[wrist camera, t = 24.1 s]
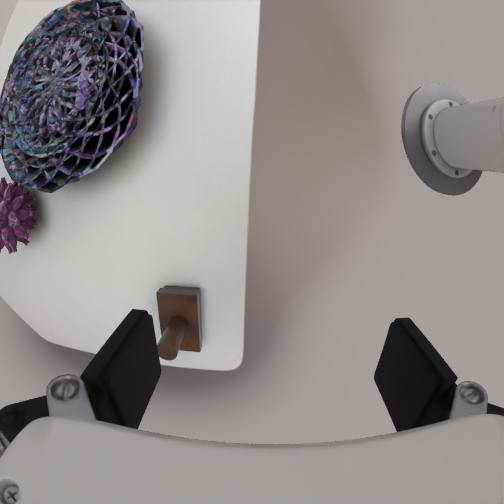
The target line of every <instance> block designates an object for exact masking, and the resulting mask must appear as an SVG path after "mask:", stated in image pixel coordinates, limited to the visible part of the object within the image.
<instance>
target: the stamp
mask: <svg viewBox="0 0 504 504" xmlns="http://www.w3.org/2000/svg"><path fill="white" fill-rule="evenodd" d="M157 302H158V311H159V319H160V327H161V335H162V337H161V339H160V340H159V342H158V344H157V349H158V355H159V356H160V357H161V358H162V359H165V360H173V359H175V358H176V356H177V354H178V351H179V350H183V351H194V352H200V351H201V347H202V334H201V314H200V290H199V288H190V287H174V286H165V287H164V288H160V289H159V290H158V292H157Z"/></svg>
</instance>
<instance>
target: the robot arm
mask: <svg viewBox="0 0 504 504" xmlns="http://www.w3.org/2000/svg"><path fill="white" fill-rule="evenodd" d="M421 131H422V140H423V144H424V148H425V151H426V153H427V155H428V157H429V159H430V161H431V162H432V164H433V165H434V166H435V167H436V168H437V169H438V170H439V171H440V172H441V173H442V174H444V175H446V176H449V177H453V178H461V177H464V176H467V175H468V174H469V173H470V172H471V171H472V170H483V171H493V172H500V173H504V97H502V98H496V99H490V100H485V101H480V102H474V103H469V104H464V105H459V104H458V103H457V102H454V101H452V100H448V99H441V100H437V101H435V102H433V103H431V104H430V105H429V106H428V107H427V109H426V111H425V113H424V115H423V119H422V126H421ZM160 375H161V366H160V360H159V355H158V349H157V343H156V337H155V331H154V324H153V318H152V315H149V314H148V312H147V311H146V310H137V309H132V310H131V311H130V313H129V314H128V315H127V316H126V317H125V319H124V320H123V321H122V322H121V324H120V325H119V326H118V327H117V329H116V330H115V331H114V332H113V334H112V335H111V336H110V337H109V339H108V340H107V341H106V343H105V344H104V345H103V346H102V348H101V349H100V350H99V352H98V353H97V354H96V355H95V357H94V358H93V359H92V361H91V362H90V363H89V365H88V366H87V367H86V369H85V370H84V371H83V373H82V375H81V376H80V378H79V377H78V376H75V375H70V374H67V375H61V376H58V377H56V378H54V379H53V380H52V381H51V382H50V383H49V384H48V386H47V388H46V396H42V397H38V398H34V399H30V400H26V401H23V402H19V403H14V404H10V405H8V406H5V407H4V408H2V409H1V410H0V504H504V408H501V407H498V406H495V405H492V404H489V403H487V402H488V397H487V393H486V391H485V389H484V388H483V387H482V386H480V385H479V384H477V383H475V382H470V381H465V382H462V383H460V384H459V385H458V386H457V385H456V383H455V382H456V380H457V376H456V375H455V373H454V372H453V371H452V370H451V368H450V367H449V366H448V364H447V363H446V362H445V361H444V359H443V358H442V357H441V355H440V354H439V353H438V352H437V350H436V349H435V348H434V347H433V346H432V344H431V343H430V342H429V341H428V340H427V338H426V337H425V336H424V335H423V333H422V332H421V331H420V330H419V328H418V327H417V326H416V325H415V324H414V323H413V322H412V320H411V319H410V318H397V319H395V320H394V322H392V323H391V325H390V327H389V331H388V334H387V337H386V341H385V344H384V347H383V350H382V353H381V356H380V359H379V362H378V365H377V368H376V371H375V375H374V380H375V383H376V385H377V387H378V389H379V392H380V394H381V396H382V398H383V401H384V403H385V405H386V407H387V409H388V412H389V414H390V417H391V419H392V421H393V424H394V426H395V428H396V431H397V432H396V433H390V434H385V435H379V436H374V437H367V438H360V439H353V440H344V441H335V442H323V443H308V444H241V443H227V442H214V441H205V440H197V439H189V438H182V437H176V436H170V435H164V434H158V433H153V432H148V431H142V430H138V427H139V424H140V422H141V420H142V417H143V415H144V413H145V410H146V408H147V405H148V403H149V401H150V398H151V396H152V394H153V391H154V389H155V387H156V384H157V382H158V380H159V378H160Z"/></svg>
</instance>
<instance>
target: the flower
mask: <svg viewBox="0 0 504 504" xmlns="http://www.w3.org/2000/svg"><path fill="white" fill-rule="evenodd" d="M23 189H24V185H22V184H20V185H19V186H18V182H16V181H14V183H13V184H12V183H9V184H7V182H6V180H5V177H4V178H1V183H0V251H1V249H2V248H3V247H4V245H5V247H6V248H7V249H8V251H9V254H11V253H12V252H13V251H14V253H15V252H16V251H17V249H16V246H17V240H18V241H19V242H23V243H24V244H25V245H27V244H28V243H29V241H28V240H27V239H28V237H29V235H28V234H27V230H28V229H31V230H32V229H33V226H32V225H37V224H38V222H39V221H38V220H36V219H34V218H33V217H32V216H33V215H34V211H33V210H34V209H36V207H35V205H32V204H33V203H34V202H35V201H36V200H35V199H36V197H34V198H31V199H27V197H28V195H29V193H30V190H29V191H28V192H26V193H23Z"/></svg>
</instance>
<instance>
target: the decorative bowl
mask: <svg viewBox="0 0 504 504" xmlns="http://www.w3.org/2000/svg"><path fill="white" fill-rule="evenodd" d="M143 47H144V33H143V26H142V25H141V24H140V23H139V22H138V21H137V20H136V17H135V14H134V11H132V10H130V8H129V7H128V6H127V5H126V4H125V3H124V2H123V1H122V0H75V1H72V2H71V3H69V4H68V5H66V6H64V7H60V8H57V9H55V10H54V11H53V12H51V13H50V14H48V15H47V16H46V17H44V18H43V19H42V20H41V21H40V22H39V23H38V25H37V26H36V27H35V28H34V29H33V31H32V32H31V33H29V34H28V35H27V37H26V38H25V40H24V41H23V42H22V44H21V45H20V47H19V48H18V49H17V51H16V54H15V56H14V59H13V61H12V63H11V65H10V67H9V70H8V74H7V77H6V80H5V83H4V86H3V89H2V93H1V96H0V153H1V155H2V159H3V162H4V165H5V168H6V170H7V172H8V173H9V175H10V177H11V179H12V180H13V181H16V182H18V183H20V184H22V185H24V186H25V187H26V188H27V189H36V190H39V191H43V192H48V193H52V192H54V191H56V190H58V189H59V188H61V187H63V186H64V185H65V184H69V183H72V182H76V181H79V180H80V179H81V177H82V176H83V175H85V174H88V173H90V172H93V171H95V170H97V169H98V168H99V167H100V165H101V164H102V163H103V162H104V161H105V160H106V158H108V157H109V156H110V155H111V154H113V153H114V152H115V151H116V150H117V149H118V148H119V147H120V146H121V145H122V142H123V140H124V138H125V137H126V136H128V135H129V134H130V133H131V132H132V131H133V130H134V129H135V128H136V125H137V111H138V108H139V106H140V101H141V98H140V91H141V88H142V86H143V84H142V78H141V72H142V70H143V68H144V63H143V53H142V49H143Z"/></svg>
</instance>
